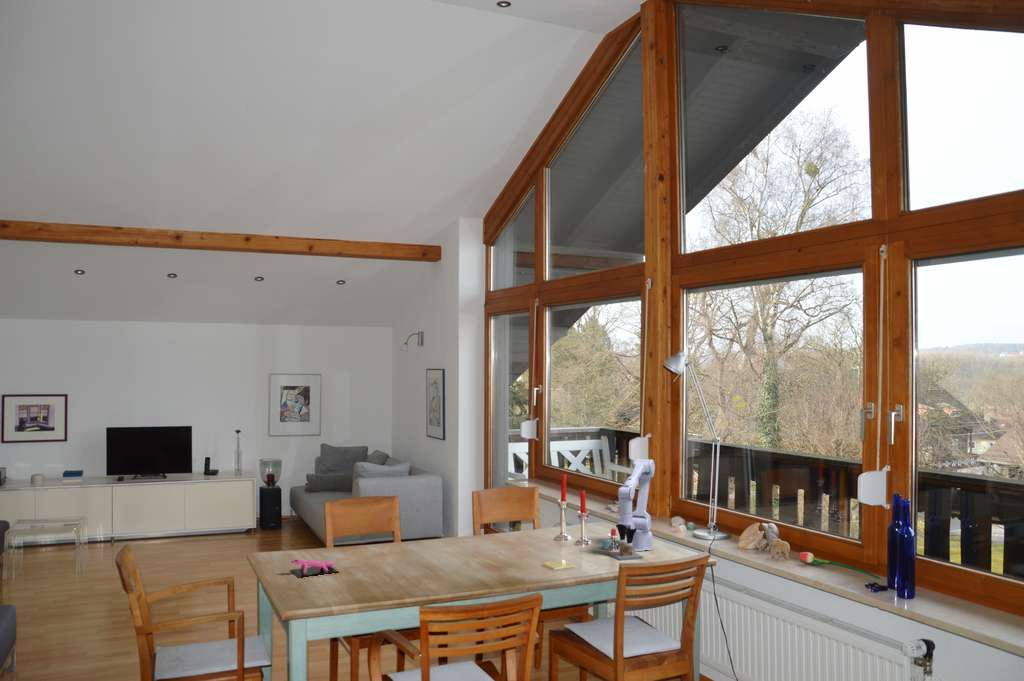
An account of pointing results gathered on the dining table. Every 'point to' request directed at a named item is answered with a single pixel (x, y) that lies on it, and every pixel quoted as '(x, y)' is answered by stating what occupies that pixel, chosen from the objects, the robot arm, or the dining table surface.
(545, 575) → the dining table surface
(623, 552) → the brown cube
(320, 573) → the pink animal figurine
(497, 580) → the dining table surface
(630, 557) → the base plate
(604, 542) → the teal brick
